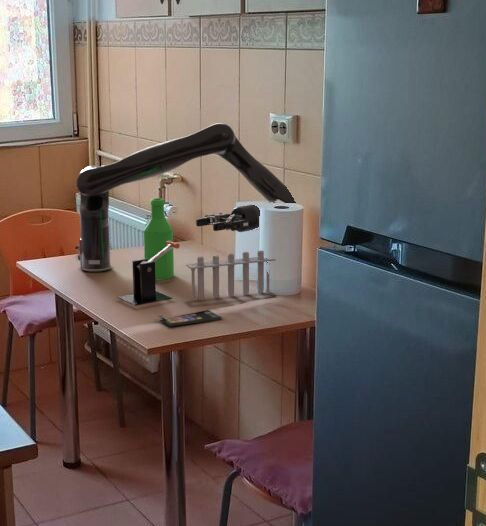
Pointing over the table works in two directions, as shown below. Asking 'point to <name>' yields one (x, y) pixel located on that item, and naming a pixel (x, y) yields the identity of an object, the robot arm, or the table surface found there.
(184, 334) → the table surface
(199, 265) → the test tube rack
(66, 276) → the table surface
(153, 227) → the bottle
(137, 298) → the bracket
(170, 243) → the lever
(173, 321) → the smartphone
